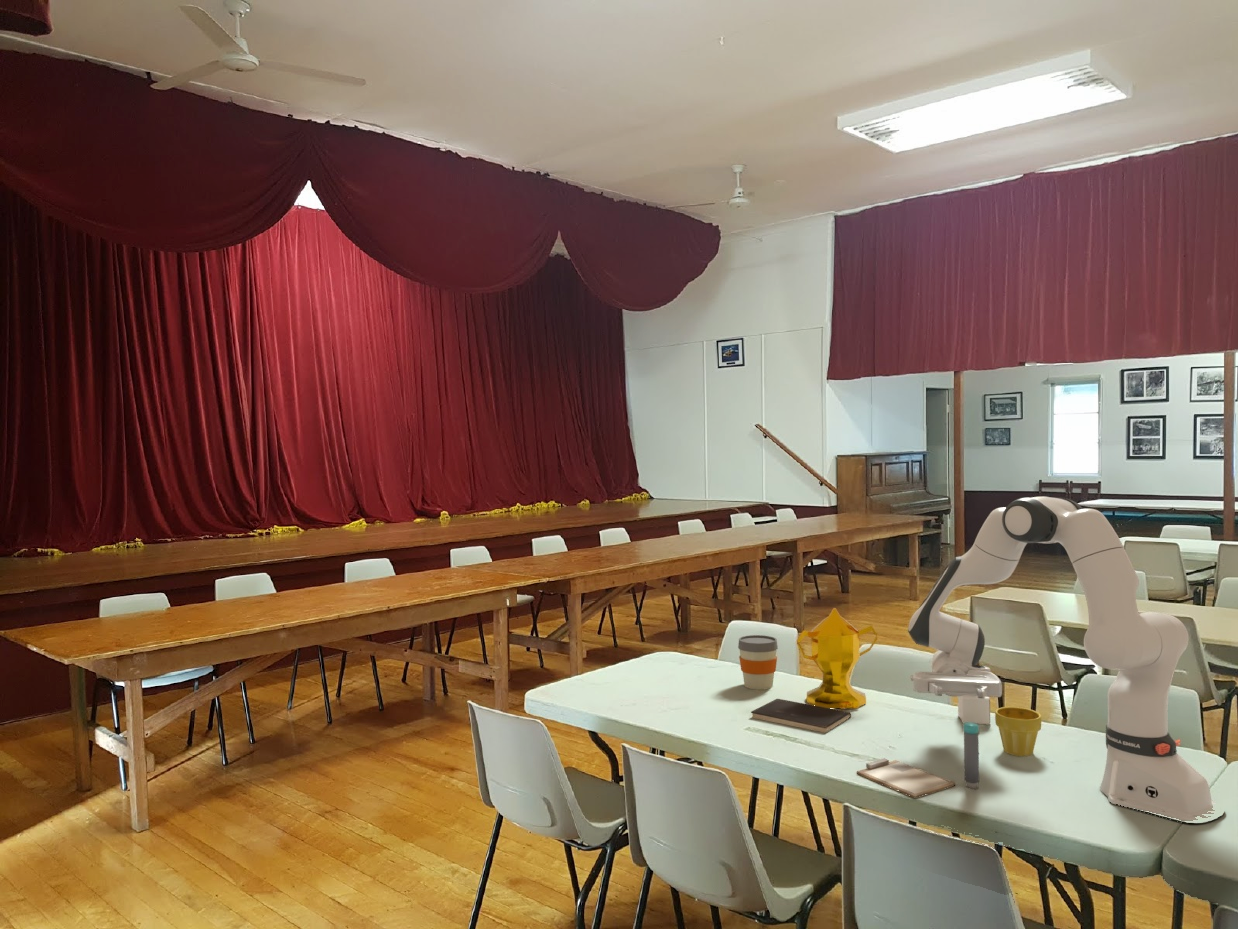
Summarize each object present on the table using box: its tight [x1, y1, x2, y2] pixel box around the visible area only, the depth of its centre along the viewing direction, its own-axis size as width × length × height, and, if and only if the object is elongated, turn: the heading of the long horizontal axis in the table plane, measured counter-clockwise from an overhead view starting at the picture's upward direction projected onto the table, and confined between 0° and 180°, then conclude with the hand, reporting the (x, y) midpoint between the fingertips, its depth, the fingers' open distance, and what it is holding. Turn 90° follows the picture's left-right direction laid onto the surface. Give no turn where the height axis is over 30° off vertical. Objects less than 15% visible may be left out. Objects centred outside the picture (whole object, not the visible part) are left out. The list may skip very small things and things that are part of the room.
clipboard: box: [856, 758, 956, 798], centre depth 197 cm, size 17×13×2 cm
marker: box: [963, 723, 980, 790], centre depth 192 cm, size 3×3×14 cm
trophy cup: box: [796, 607, 878, 710], centre depth 257 cm, size 18×24×28 cm
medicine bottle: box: [957, 695, 991, 725], centre depth 238 cm, size 7×7×12 cm
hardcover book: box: [750, 698, 852, 733], centre depth 243 cm, size 16×23×2 cm
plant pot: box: [994, 706, 1042, 757], centre depth 213 cm, size 10×10×10 cm
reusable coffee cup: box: [737, 634, 779, 691], centre depth 276 cm, size 13×13×15 cm
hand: (959, 693), depth 203 cm, fingers open, 8 cm apart
